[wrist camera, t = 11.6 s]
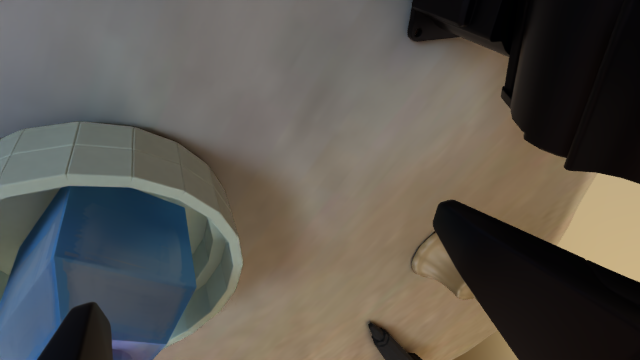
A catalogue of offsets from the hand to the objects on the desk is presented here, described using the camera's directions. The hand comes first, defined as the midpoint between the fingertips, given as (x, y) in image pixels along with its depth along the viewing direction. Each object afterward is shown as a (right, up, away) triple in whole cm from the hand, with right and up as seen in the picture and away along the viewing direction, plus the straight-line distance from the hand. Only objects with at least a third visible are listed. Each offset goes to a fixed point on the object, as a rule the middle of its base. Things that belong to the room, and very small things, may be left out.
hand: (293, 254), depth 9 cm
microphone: (+11, -21, +41) cm, 48 cm away
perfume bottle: (-12, -1, +12) cm, 17 cm away
